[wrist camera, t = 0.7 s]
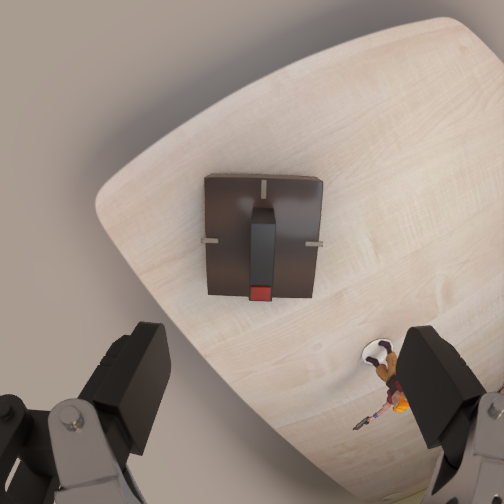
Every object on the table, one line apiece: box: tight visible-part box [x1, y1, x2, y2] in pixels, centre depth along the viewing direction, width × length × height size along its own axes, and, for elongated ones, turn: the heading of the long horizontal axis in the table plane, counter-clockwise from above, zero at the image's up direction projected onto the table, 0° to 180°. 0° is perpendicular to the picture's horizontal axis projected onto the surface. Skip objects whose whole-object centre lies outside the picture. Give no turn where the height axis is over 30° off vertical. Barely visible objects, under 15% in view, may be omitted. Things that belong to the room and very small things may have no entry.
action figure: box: [353, 339, 409, 430], centre depth 26 cm, size 12×3×9 cm, turn 156°
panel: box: [201, 174, 323, 298], centre depth 24 cm, size 10×10×3 cm
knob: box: [249, 207, 276, 301], centre depth 21 cm, size 6×2×5 cm, turn 179°
